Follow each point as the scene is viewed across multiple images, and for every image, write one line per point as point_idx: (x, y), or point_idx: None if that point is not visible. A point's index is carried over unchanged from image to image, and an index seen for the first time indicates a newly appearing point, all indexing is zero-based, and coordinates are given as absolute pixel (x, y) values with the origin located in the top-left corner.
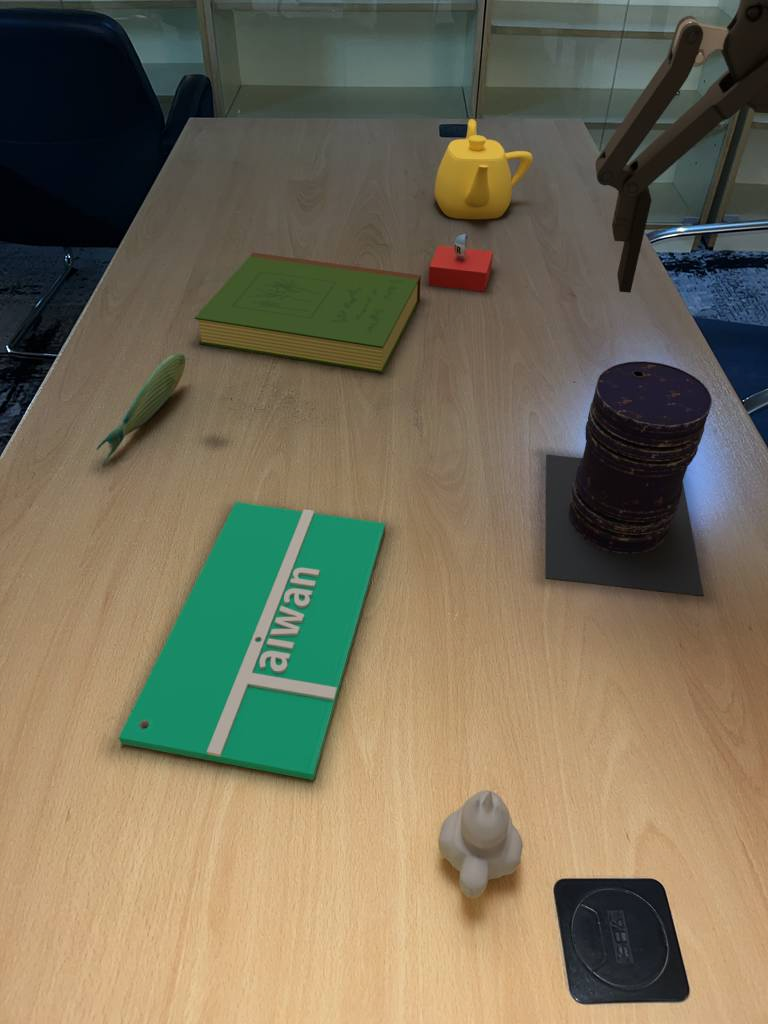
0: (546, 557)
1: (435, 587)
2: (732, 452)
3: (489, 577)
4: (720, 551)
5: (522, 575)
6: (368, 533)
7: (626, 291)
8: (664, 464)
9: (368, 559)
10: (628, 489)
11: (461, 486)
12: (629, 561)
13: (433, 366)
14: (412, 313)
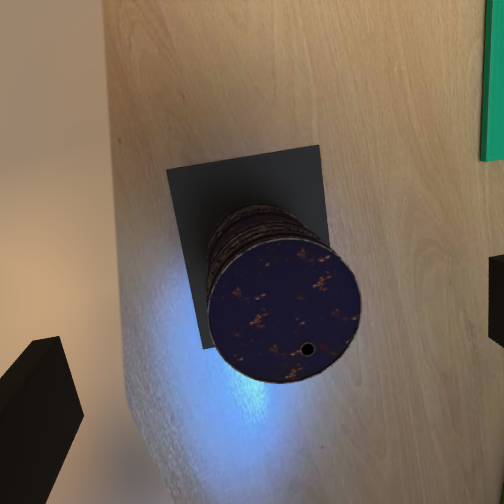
0: (321, 173)
1: (420, 98)
2: (152, 391)
3: (371, 129)
4: (154, 239)
5: (340, 142)
6: (500, 141)
7: (499, 255)
8: (245, 232)
9: (494, 105)
10: (272, 219)
11: (414, 249)
12: (241, 194)
13: (467, 423)
14: (502, 500)
